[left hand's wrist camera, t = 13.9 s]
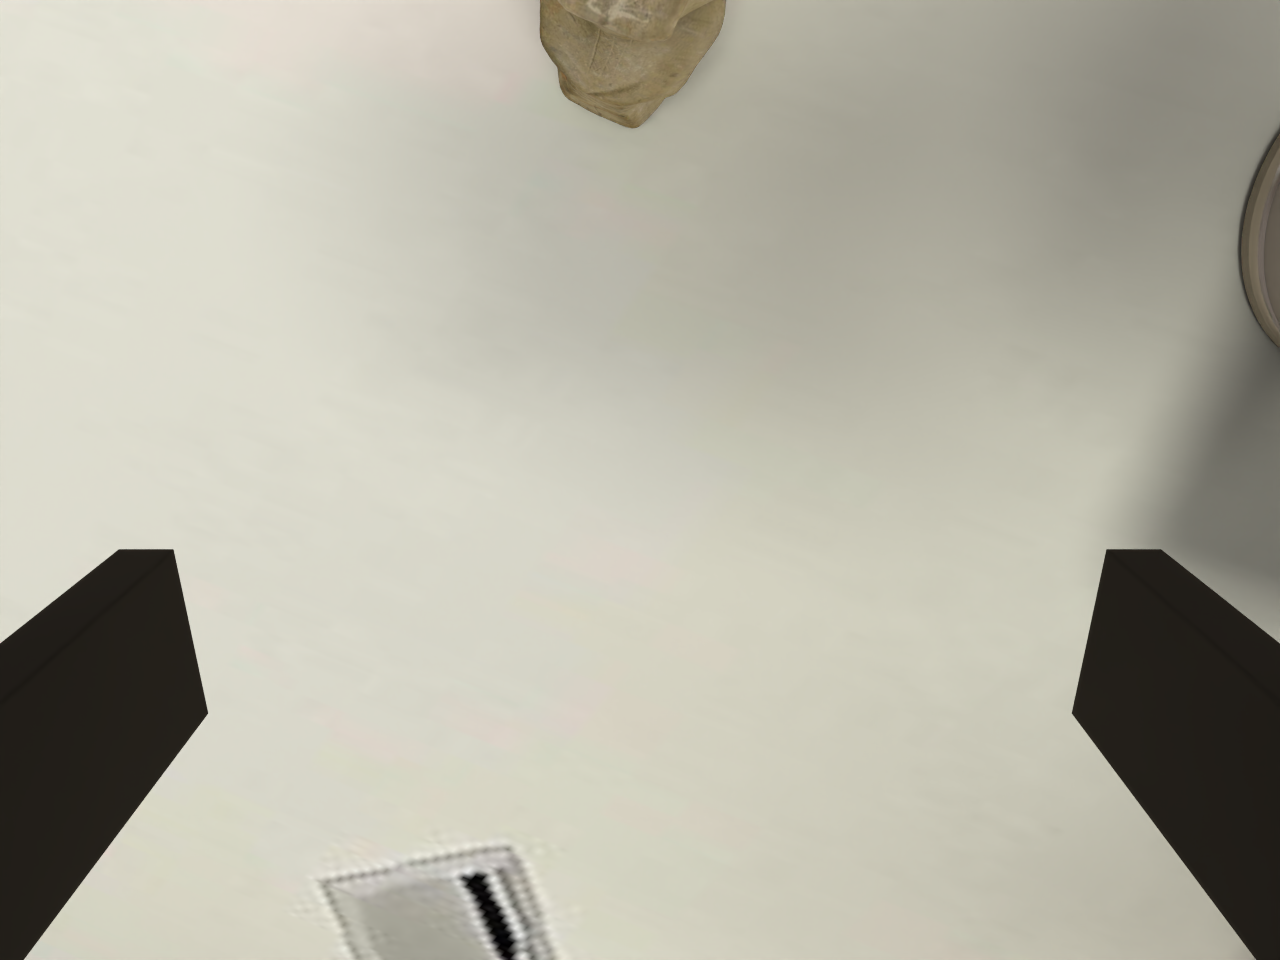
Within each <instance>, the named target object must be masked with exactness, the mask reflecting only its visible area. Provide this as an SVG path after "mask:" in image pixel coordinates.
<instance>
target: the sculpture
mask: <svg viewBox="0 0 1280 960" xmlns="http://www.w3.org/2000/svg"><path fill="white" fill-rule="evenodd" d="M725 3H726V0H540V38H541V42H542V45H543V47H544V48H545V50H546V52H547V53H548V55H549V57H550V58H551V60H552V61H553V62H554V63H555V65H556V66H557V67H558V75H559V83H560V87H561V90H562V92H563V94H564V95H565V96H566V97H567V98H568V99H569V100H571V101H573V102H574V103H576V104H578V105H580V106H582V107H583V108H585V109H587V110H589V111H591V112H593V113H595V114H597V115H599V116H601V117H604V118H606V119H608V120H611V121H613V122H616V123H618V124H620V125H623V126H625V127H629V128H636V127H639V126H640V125H641V124H642V123H644V122H645V121H646V120H647V119H648V118H649V116H650V115H651V114H652V113H653V112H654V111H655V110H656V109H657V108H658V107H659V105H660V104H661V103H662V101H663V100H664V99H665V98H666V97H669V96H672V95H674V94H675V93H677V92H678V91H679V90H680V88H681V87H682V86H683V85H684V84H685V83H686V82H687V80H688V78H689V77H690V75H691V73H692V72H693V70H694V69H695V67H696V65H697V64H698V63H699V61H700V60H701V59H702V57H703V56H704V55H705V53H706V52H707V51H708V49H709V48H710V47H711V45H712V44H713V42H714V41H715V39H716V38H717V36H718V34H719V32H720V30H721V27H722V24H723V20H724V15H725Z"/></svg>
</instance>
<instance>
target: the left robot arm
mask: <svg viewBox="0 0 1280 960" xmlns="http://www.w3.org/2000/svg"><path fill="white" fill-rule="evenodd" d="M1241 261H1242V273H1243V279H1244V284H1245V289H1246V293H1247V296H1248V299H1249V302H1250V305H1251V307H1252V309H1253V312H1254V314H1255V316H1256V318H1257V320H1258V322H1259V323H1260V325H1261V327H1262V328H1263V330H1264V331H1265V332H1266V334H1267V335H1268V336H1269V338H1270V339H1271V340H1272V341H1273V342H1274V343H1275V344H1276V345H1277V346H1278V347H1279V348H1280V134H1279V135H1278V137H1277V139H1276V140H1275V142H1274V144H1273V145H1272V147H1271V148H1270V150H1269V152H1268V154H1267V156H1266V158H1265V160H1264V162H1263V164H1262V166H1261V168H1260V171H1259V173H1258V176H1257V178H1256V181H1255V183H1254V186H1253V189H1252V192H1251V195H1250V198H1249V201H1248V205H1247V210H1246V214H1245V219H1244V225H1243V232H1242V245H1241ZM207 714H208V710H207V706H206V701H205V696H204V691H203V687H202V682H201V677H200V673H199V668H198V663H197V658H196V654H195V649H194V644H193V640H192V635H191V630H190V625H189V621H188V616H187V611H186V606H185V602H184V597H183V592H182V588H181V583H180V578H179V573H178V569H177V564H176V559H175V554H174V550H173V549H119V550H118V551H116V552H115V553H114V554H113V555H111V556H110V557H109V558H108V559H106V560H105V561H104V562H102V563H101V564H100V565H99V566H97V567H96V568H95V569H94V570H92V571H91V572H90V573H89V574H87V575H86V576H85V577H84V578H82V579H81V580H80V581H79V582H77V583H76V584H75V585H73V586H72V587H71V588H70V589H68V590H67V591H66V592H65V593H63V594H62V595H61V596H60V597H58V598H57V599H56V600H55V601H53V602H52V603H51V604H49V605H48V606H47V607H46V608H44V609H43V610H42V611H41V612H39V613H38V614H37V615H36V616H34V617H33V618H32V619H31V620H29V621H28V622H27V623H26V624H24V625H23V626H22V627H20V628H19V629H18V630H17V631H15V632H14V633H13V634H12V635H10V636H9V637H8V638H7V639H5V640H4V641H3V642H2V643H0V960H24V959H25V957H26V956H27V955H28V953H29V952H30V951H31V949H32V948H33V947H34V945H35V944H36V943H37V941H38V940H39V939H40V937H41V936H42V935H43V933H44V932H45V931H46V929H47V928H48V927H49V925H50V924H51V923H52V921H53V920H54V919H55V917H56V916H57V915H58V913H59V912H60V911H61V909H62V908H63V907H64V905H65V904H66V903H67V901H68V900H69V899H70V897H71V896H72V895H73V893H74V892H75V891H76V889H77V888H78V887H79V885H80V884H81V883H82V881H83V880H84V879H85V877H86V876H87V874H88V873H89V872H90V870H91V869H92V868H93V866H94V865H95V864H96V862H97V861H98V860H99V858H100V857H101V856H102V854H103V853H104V852H105V850H106V849H107V848H108V846H109V845H110V844H111V842H112V841H113V840H114V838H115V837H116V836H117V834H118V833H119V832H120V830H121V829H122V828H123V826H124V825H125V824H126V822H127V821H128V820H129V818H130V817H131V816H132V814H133V813H134V812H135V810H136V809H137V808H138V806H139V805H140V804H141V802H142V801H143V800H144V798H145V797H146V796H147V794H148V793H149V792H150V790H151V789H152V788H153V786H154V785H155V784H156V782H157V781H158V780H159V778H160V777H161V776H162V774H163V773H164V772H165V770H166V769H167V768H168V766H169V765H170V764H171V762H172V761H173V760H174V758H175V757H176V756H177V754H178V753H179V752H180V750H181V749H182V748H183V746H184V745H185V744H186V742H187V741H188V740H189V738H190V737H191V736H192V734H193V733H194V732H195V730H196V729H197V728H198V726H199V725H200V724H201V722H202V721H203V720H204V718H205V717H206V716H207ZM1072 714H1073V716H1074V717H1075V718H1076V720H1077V721H1078V722H1079V724H1080V725H1081V726H1082V728H1083V729H1084V730H1085V732H1086V733H1087V734H1088V736H1089V737H1090V738H1091V740H1092V741H1093V742H1094V744H1095V745H1096V746H1097V748H1098V749H1099V750H1100V752H1101V753H1102V754H1103V756H1104V757H1105V758H1106V760H1107V761H1108V762H1109V764H1110V765H1111V766H1112V768H1113V769H1114V770H1115V772H1116V773H1117V774H1118V776H1119V777H1120V778H1121V780H1122V781H1123V782H1124V784H1125V785H1126V786H1127V788H1128V789H1129V790H1130V792H1131V793H1132V794H1133V796H1134V797H1135V798H1136V800H1137V801H1138V802H1139V804H1140V805H1141V806H1142V808H1143V809H1144V810H1145V812H1146V813H1147V814H1148V816H1149V817H1150V818H1151V820H1152V821H1153V822H1154V824H1155V825H1156V826H1157V828H1158V829H1159V830H1160V832H1161V833H1162V834H1163V836H1164V837H1165V838H1166V840H1167V841H1168V842H1169V844H1170V845H1171V846H1172V848H1173V849H1174V850H1175V852H1176V853H1177V854H1178V856H1179V857H1180V858H1181V860H1182V861H1183V862H1184V864H1185V865H1186V866H1187V868H1188V869H1189V870H1190V872H1191V873H1192V874H1193V876H1194V877H1195V879H1196V880H1197V881H1198V883H1199V884H1200V885H1201V887H1202V888H1203V889H1204V891H1205V892H1206V893H1207V895H1208V896H1209V897H1210V899H1211V900H1212V901H1213V903H1214V904H1215V905H1216V907H1217V908H1218V909H1219V911H1220V912H1221V913H1222V915H1223V916H1224V917H1225V919H1226V920H1227V921H1228V923H1229V924H1230V925H1231V927H1232V928H1233V929H1234V931H1235V932H1236V933H1237V935H1238V936H1239V937H1240V939H1241V940H1242V941H1243V943H1244V944H1245V945H1246V947H1247V948H1248V949H1249V951H1250V952H1251V953H1252V955H1253V956H1254V957H1255V959H1256V960H1280V643H1278V642H1277V641H1276V640H1275V639H1273V638H1272V637H1271V636H1270V635H1268V634H1267V633H1266V632H1265V631H1263V630H1262V629H1261V628H1260V627H1258V626H1257V625H1256V624H1254V623H1253V622H1252V621H1251V620H1249V619H1248V618H1247V617H1246V616H1244V615H1243V614H1242V613H1241V612H1239V611H1238V610H1237V609H1236V608H1234V607H1233V606H1232V605H1231V604H1229V603H1228V602H1227V601H1225V600H1224V599H1223V598H1222V597H1220V596H1219V595H1218V594H1217V593H1215V592H1214V591H1213V590H1212V589H1210V588H1209V587H1208V586H1207V585H1205V584H1204V583H1203V582H1201V581H1200V580H1199V579H1198V578H1196V577H1195V576H1194V575H1193V574H1191V573H1190V572H1189V571H1188V570H1186V569H1185V568H1184V567H1183V566H1181V565H1180V564H1179V563H1178V562H1176V561H1175V560H1174V559H1172V558H1171V557H1170V556H1169V555H1167V554H1166V553H1165V552H1164V551H1162V550H1161V549H1107V550H1106V554H1105V559H1104V564H1103V569H1102V573H1101V578H1100V583H1099V588H1098V592H1097V597H1096V602H1095V606H1094V611H1093V616H1092V621H1091V625H1090V630H1089V635H1088V640H1087V644H1086V649H1085V654H1084V658H1083V663H1082V668H1081V673H1080V677H1079V682H1078V687H1077V691H1076V696H1075V701H1074V706H1073V710H1072Z"/></svg>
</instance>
